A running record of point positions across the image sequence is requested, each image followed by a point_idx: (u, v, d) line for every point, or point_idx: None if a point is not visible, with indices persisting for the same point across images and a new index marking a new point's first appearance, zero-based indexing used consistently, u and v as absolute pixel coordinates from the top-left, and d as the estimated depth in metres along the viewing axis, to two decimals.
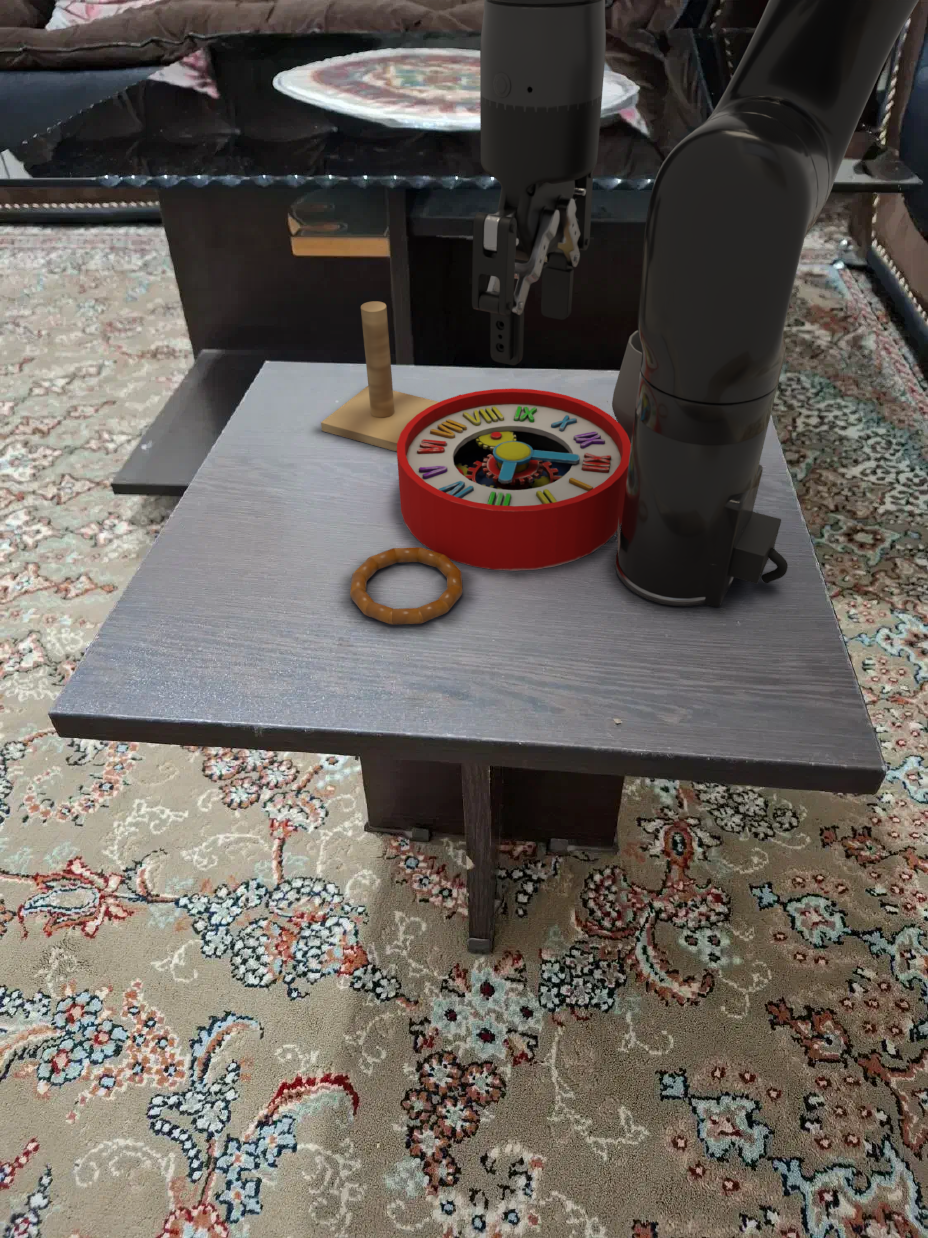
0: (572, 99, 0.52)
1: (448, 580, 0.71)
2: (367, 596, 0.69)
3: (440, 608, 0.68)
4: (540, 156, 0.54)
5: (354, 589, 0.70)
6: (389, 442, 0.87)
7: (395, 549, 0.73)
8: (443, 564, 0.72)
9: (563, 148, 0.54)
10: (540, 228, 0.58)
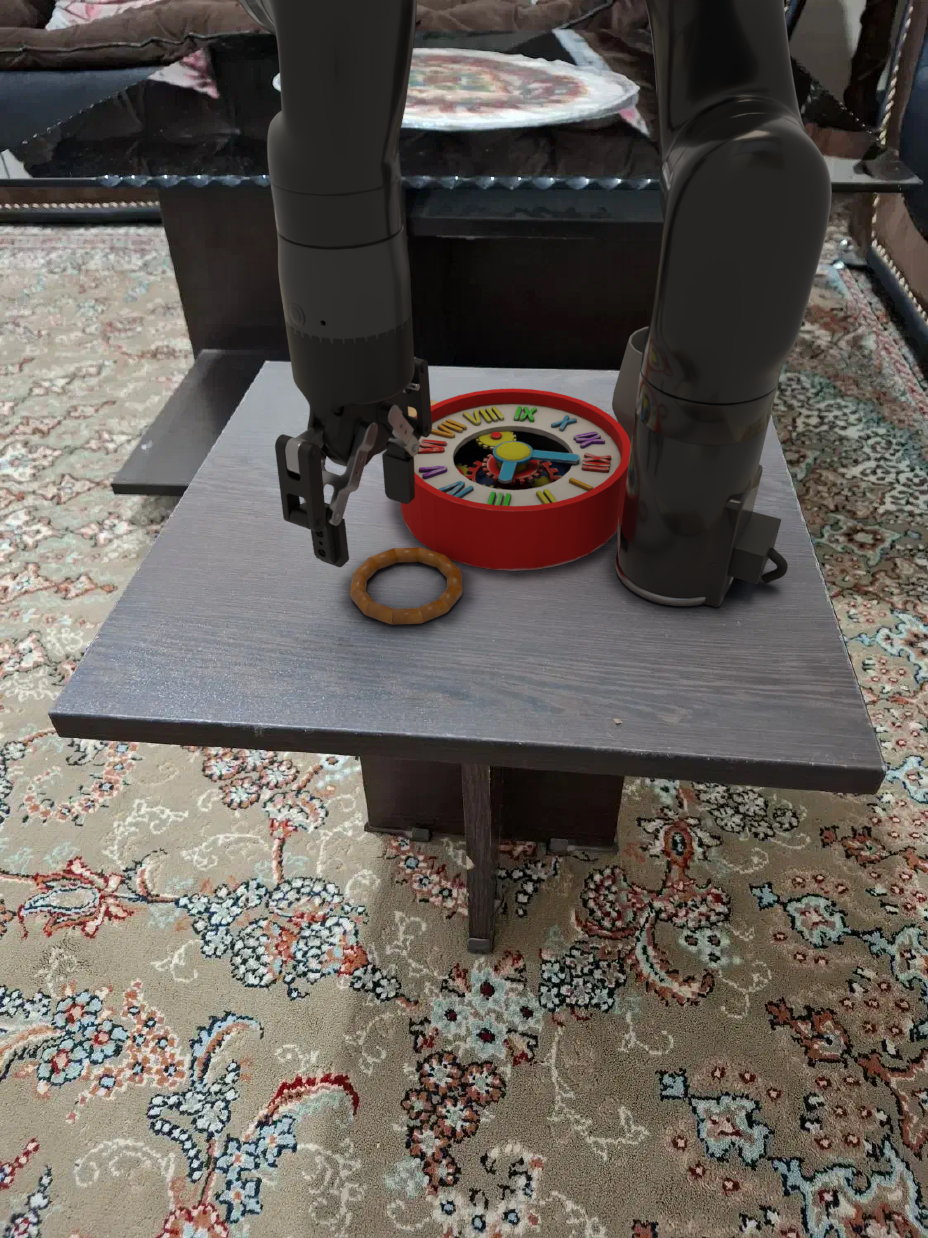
0: (369, 331, 0.50)
1: (448, 580, 0.71)
2: (367, 596, 0.69)
3: (440, 608, 0.68)
4: (342, 382, 0.52)
5: (354, 589, 0.70)
6: None
7: (395, 549, 0.73)
8: (443, 564, 0.72)
9: (365, 374, 0.52)
10: (355, 441, 0.56)
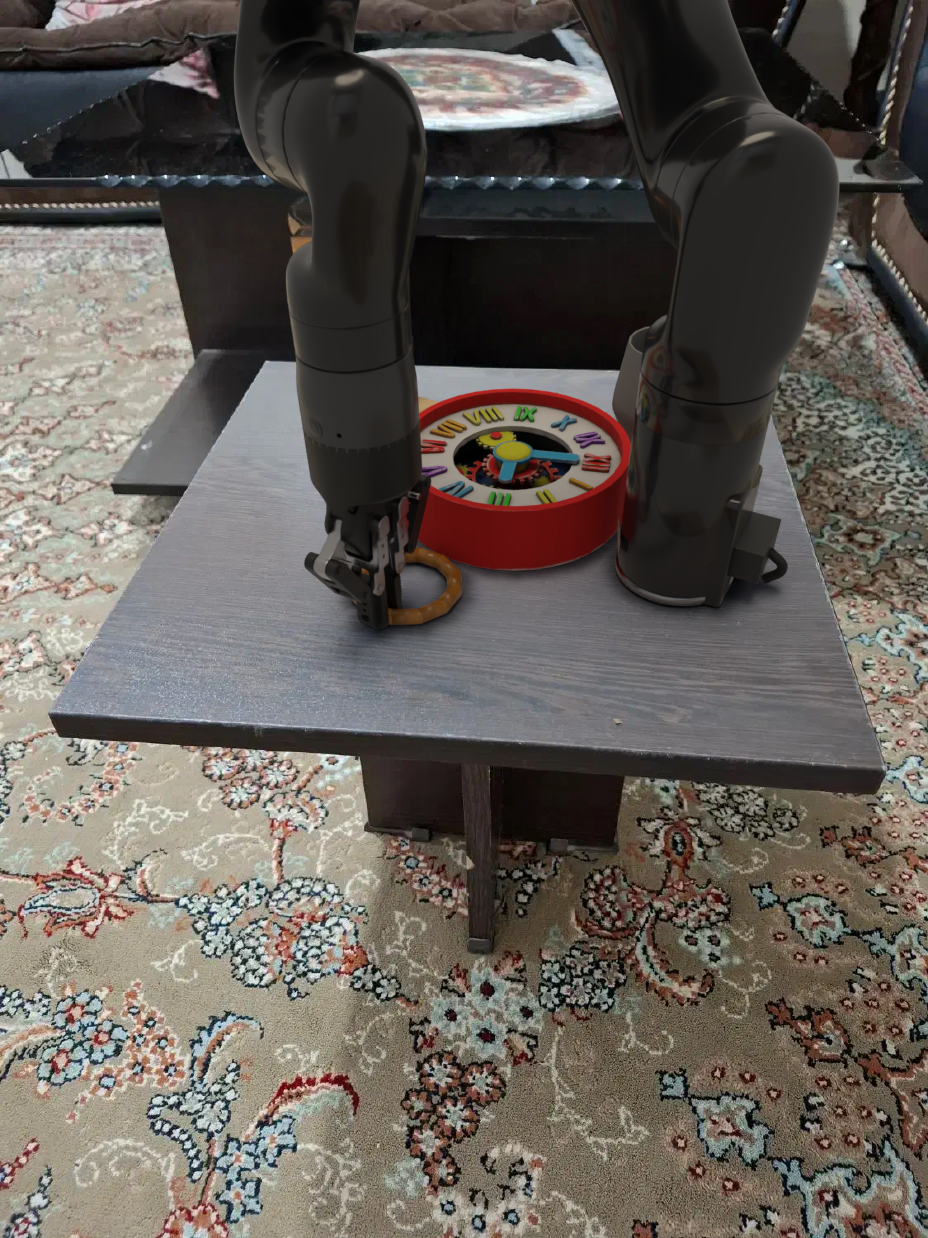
0: (382, 441, 0.55)
1: (448, 580, 0.70)
2: None
3: (440, 608, 0.68)
4: (357, 486, 0.56)
5: None
6: None
7: None
8: (443, 564, 0.72)
9: (378, 478, 0.56)
10: (372, 537, 0.61)
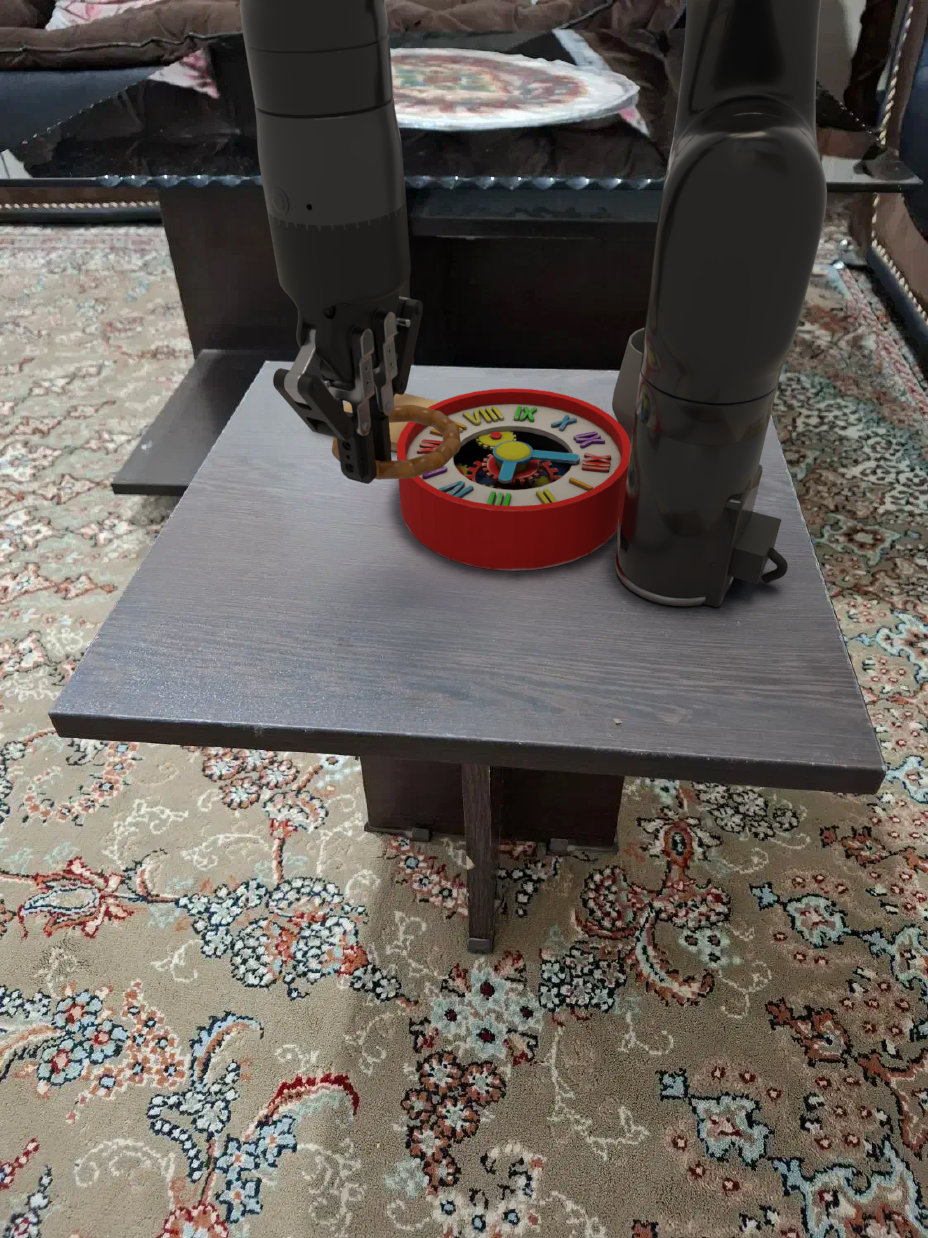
0: (360, 216, 0.46)
1: (444, 434, 0.62)
2: None
3: (434, 460, 0.59)
4: (332, 277, 0.47)
5: (336, 443, 0.61)
6: None
7: None
8: (438, 419, 0.63)
9: (358, 267, 0.47)
10: (354, 356, 0.52)
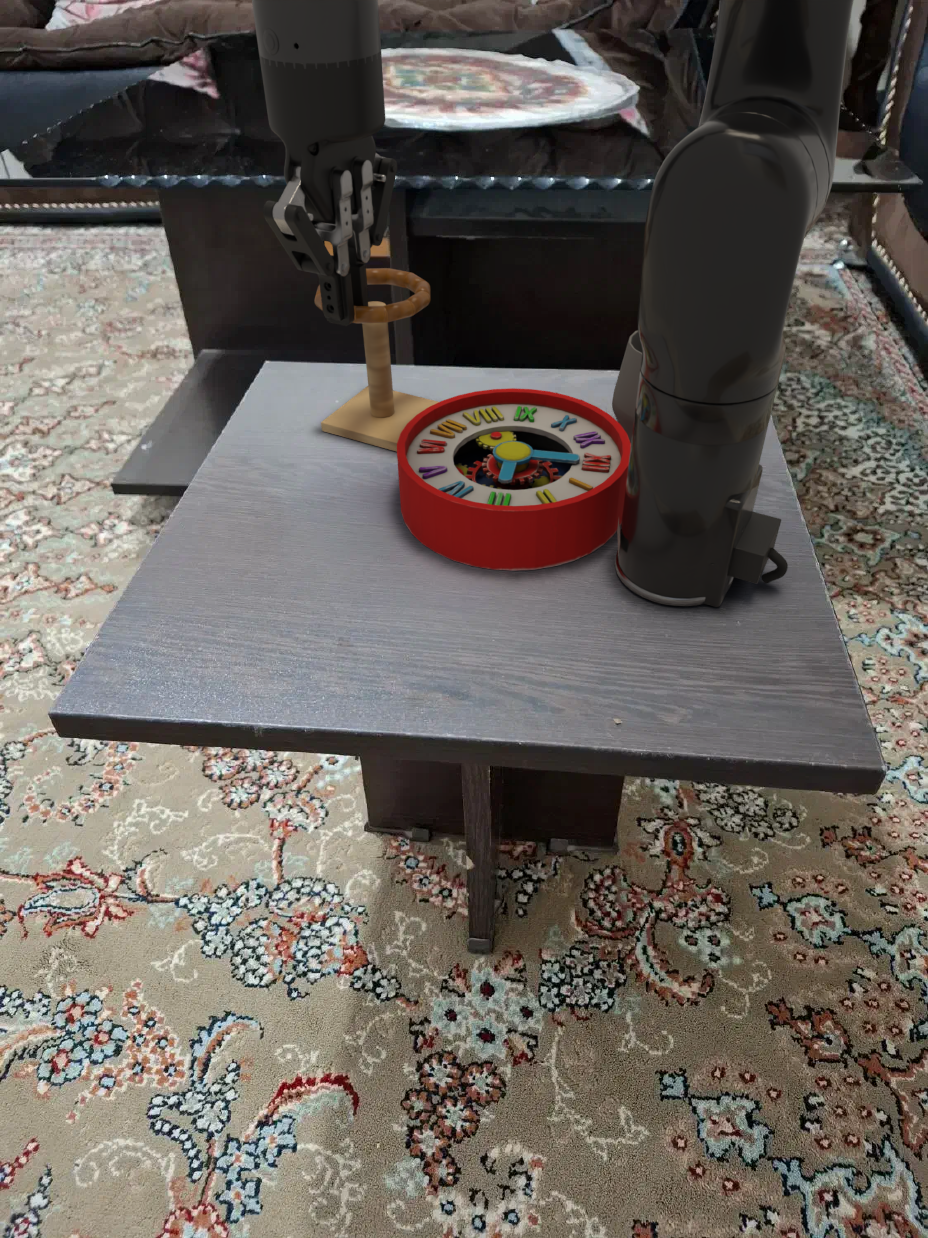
0: (341, 56, 0.53)
1: (416, 289, 0.69)
2: None
3: (406, 307, 0.66)
4: (316, 114, 0.54)
5: (318, 294, 0.68)
6: (389, 442, 0.87)
7: None
8: (411, 279, 0.70)
9: (338, 106, 0.54)
10: (334, 195, 0.59)
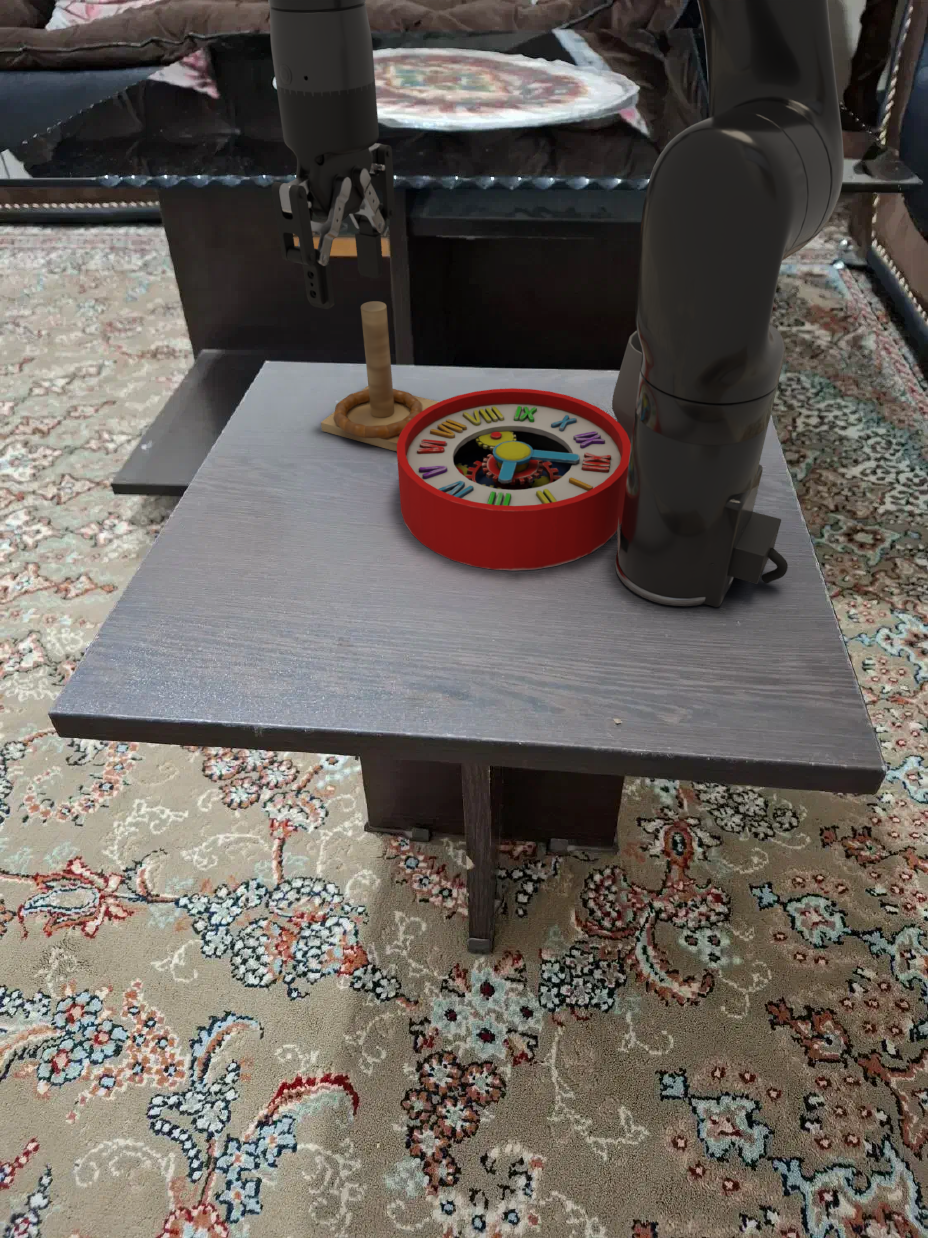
0: (341, 86, 0.65)
1: (411, 409, 0.89)
2: (346, 417, 0.88)
3: (403, 426, 0.87)
4: (322, 132, 0.67)
5: (336, 413, 0.88)
6: (389, 442, 0.87)
7: None
8: (408, 398, 0.90)
9: (340, 125, 0.67)
10: (334, 193, 0.71)
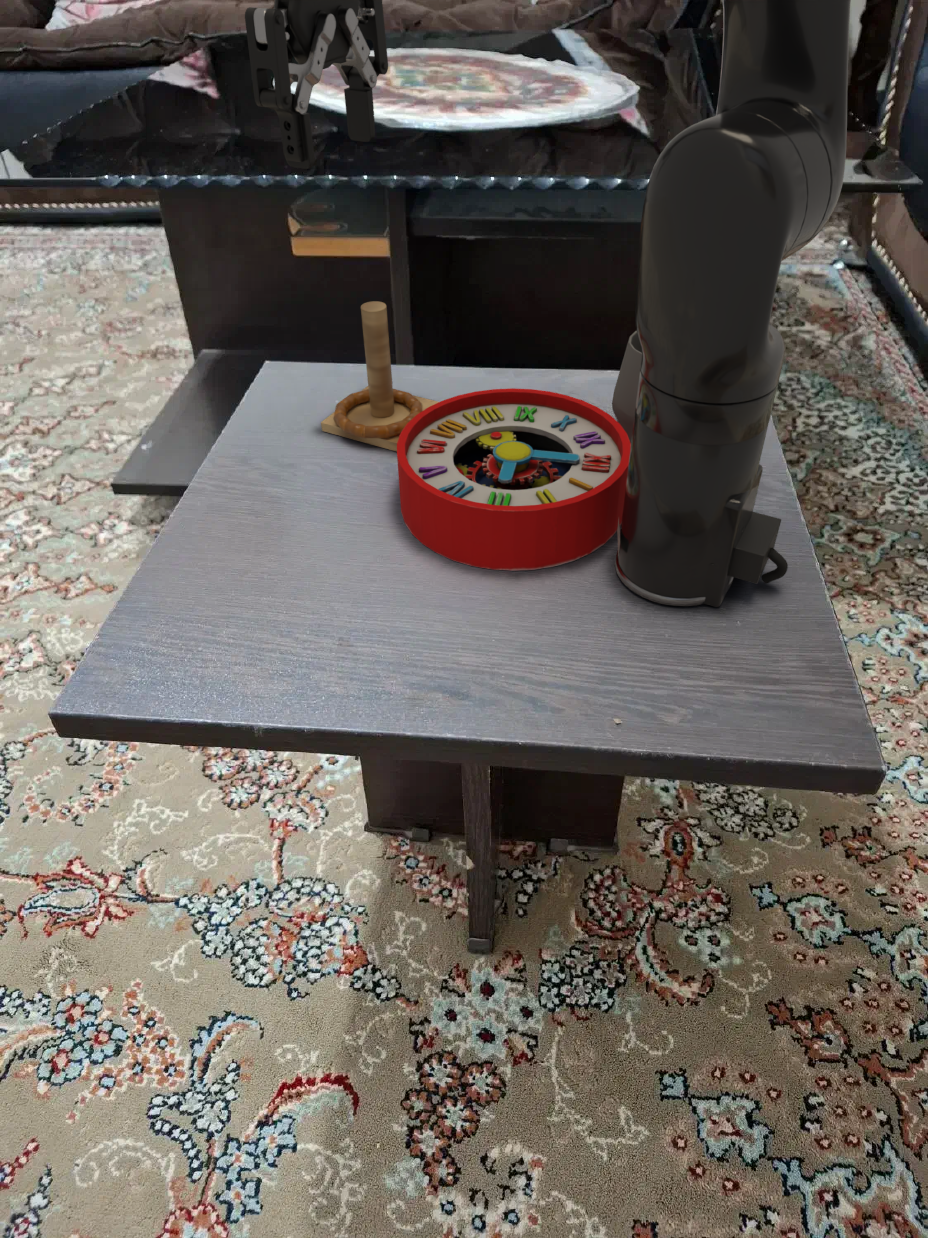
0: None
1: (411, 409, 0.89)
2: (346, 417, 0.88)
3: (403, 426, 0.87)
4: None
5: (336, 413, 0.88)
6: (389, 442, 0.87)
7: None
8: (408, 398, 0.90)
9: None
10: (316, 30, 0.64)
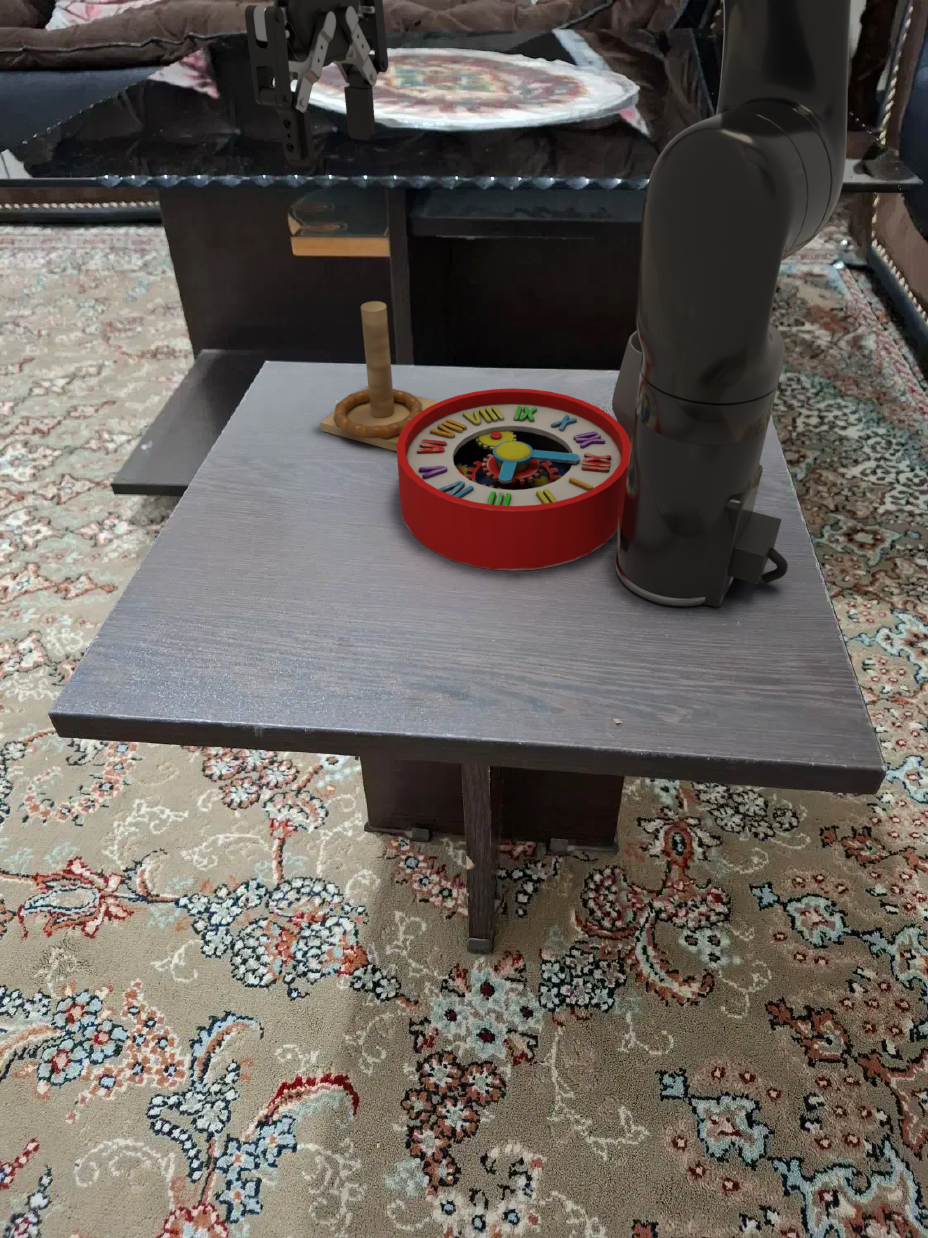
0: None
1: (411, 409, 0.89)
2: (346, 417, 0.88)
3: (403, 426, 0.87)
4: None
5: (336, 413, 0.88)
6: (389, 442, 0.87)
7: None
8: (408, 398, 0.90)
9: None
10: (316, 28, 0.64)
